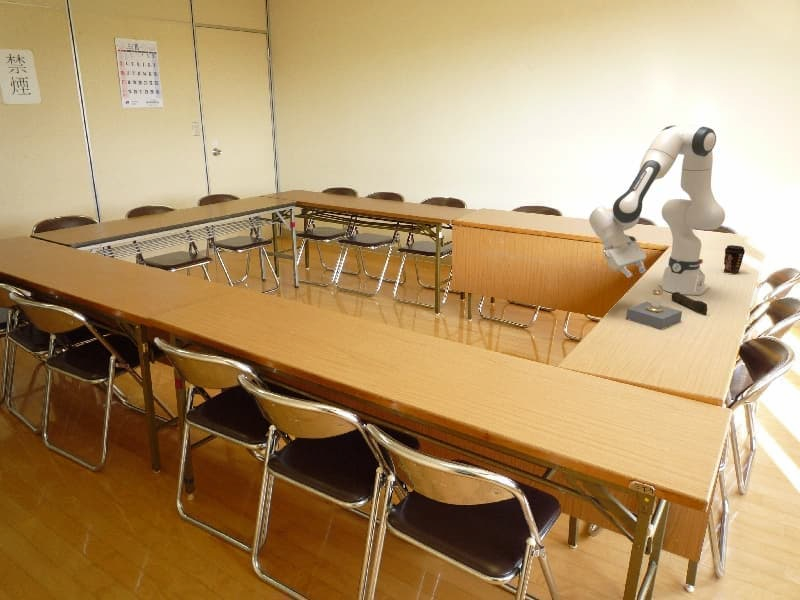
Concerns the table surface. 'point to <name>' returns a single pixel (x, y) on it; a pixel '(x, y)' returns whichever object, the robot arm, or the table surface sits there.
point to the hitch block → (654, 316)
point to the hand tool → (690, 303)
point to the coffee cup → (733, 258)
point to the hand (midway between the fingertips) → (637, 274)
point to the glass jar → (655, 302)
